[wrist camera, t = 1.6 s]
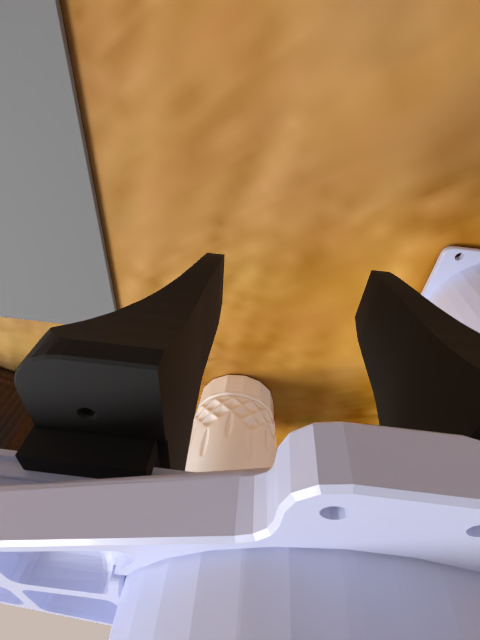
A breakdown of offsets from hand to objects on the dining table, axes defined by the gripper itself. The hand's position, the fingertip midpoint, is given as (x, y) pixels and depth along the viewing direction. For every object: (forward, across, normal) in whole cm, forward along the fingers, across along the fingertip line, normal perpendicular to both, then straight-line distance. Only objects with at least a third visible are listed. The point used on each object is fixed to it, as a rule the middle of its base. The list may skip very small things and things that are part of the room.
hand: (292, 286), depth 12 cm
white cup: (+11, +2, +19) cm, 22 cm away
